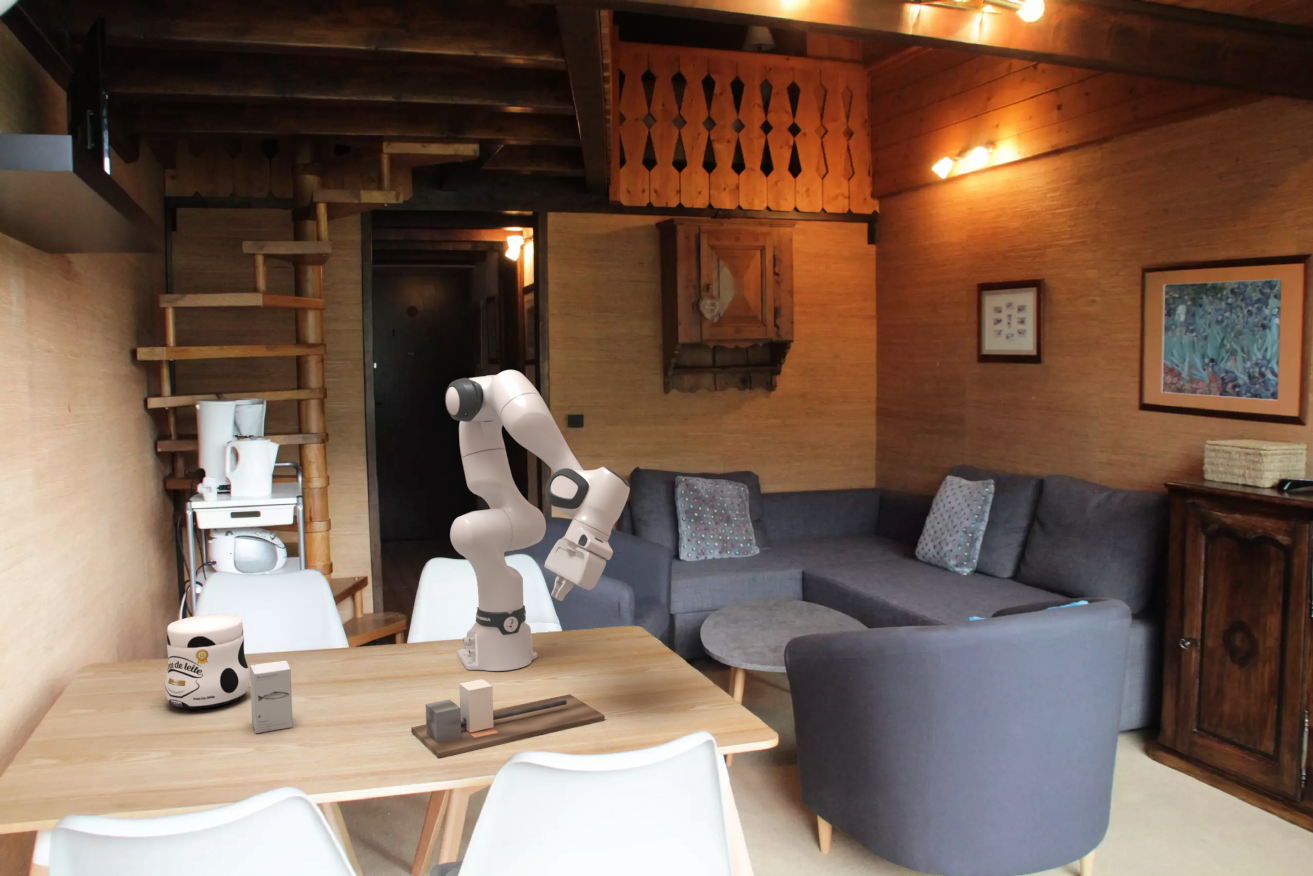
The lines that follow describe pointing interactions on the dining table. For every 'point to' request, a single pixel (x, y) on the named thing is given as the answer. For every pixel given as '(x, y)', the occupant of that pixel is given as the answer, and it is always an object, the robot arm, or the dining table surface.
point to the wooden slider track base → (500, 724)
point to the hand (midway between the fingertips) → (556, 598)
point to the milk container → (206, 661)
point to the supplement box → (271, 696)
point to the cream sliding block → (476, 705)
